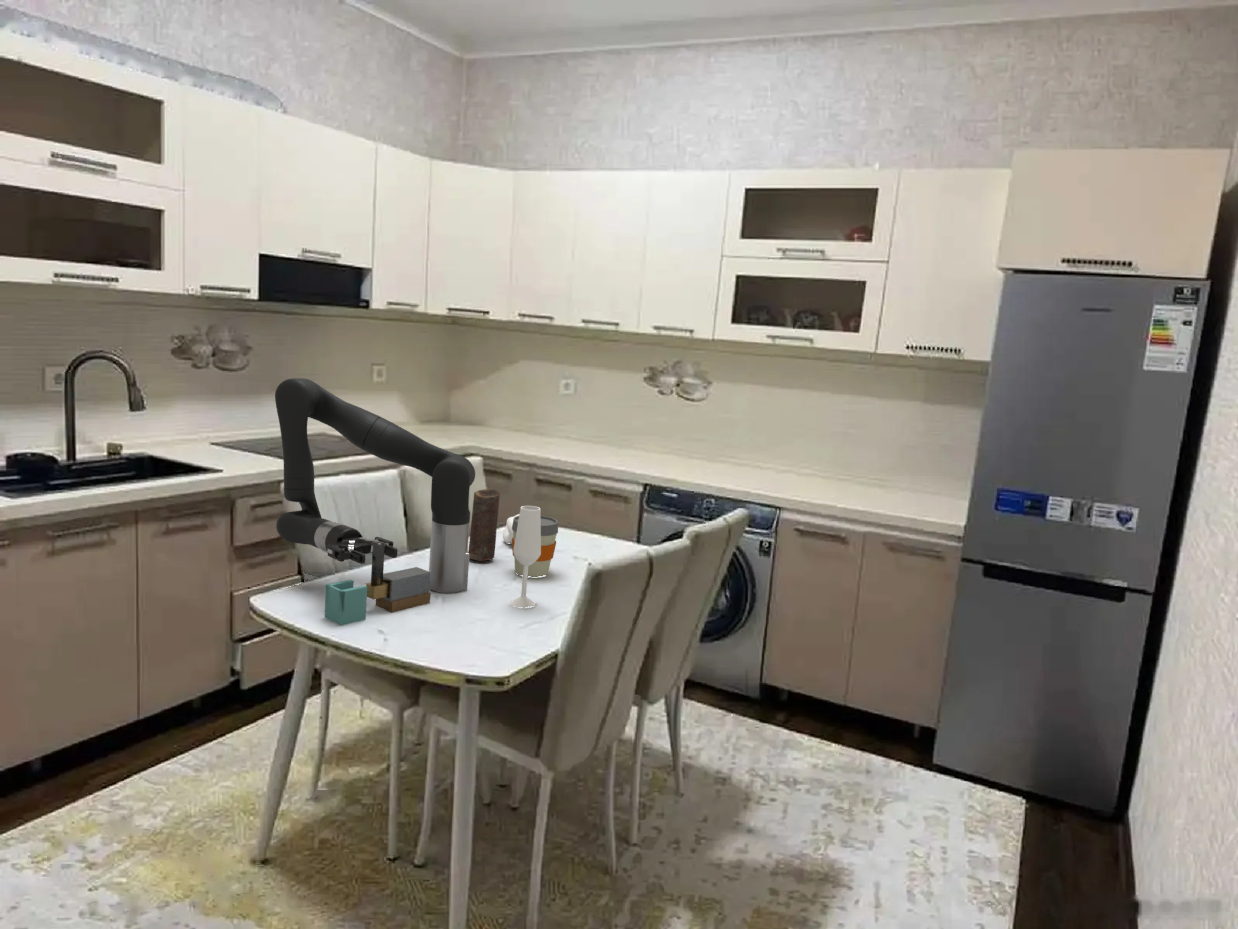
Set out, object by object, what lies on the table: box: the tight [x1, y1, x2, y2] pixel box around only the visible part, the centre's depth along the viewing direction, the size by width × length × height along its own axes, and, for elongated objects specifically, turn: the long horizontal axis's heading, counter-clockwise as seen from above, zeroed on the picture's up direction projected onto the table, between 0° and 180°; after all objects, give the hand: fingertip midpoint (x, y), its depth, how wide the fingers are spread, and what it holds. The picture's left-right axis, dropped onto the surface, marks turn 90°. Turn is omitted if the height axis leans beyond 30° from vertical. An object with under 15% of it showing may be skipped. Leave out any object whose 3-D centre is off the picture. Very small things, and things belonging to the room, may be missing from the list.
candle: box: [468, 488, 501, 563], centre depth 239 cm, size 8×7×20 cm
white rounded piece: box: [502, 513, 520, 545], centre depth 260 cm, size 11×12×9 cm
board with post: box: [365, 541, 390, 601], centre depth 196 cm, size 14×3×12 cm, turn 142°
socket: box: [324, 579, 368, 626], centre depth 187 cm, size 6×6×8 cm
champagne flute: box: [509, 505, 542, 608], centre depth 206 cm, size 7×7×24 cm
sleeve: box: [375, 566, 432, 614], centre depth 199 cm, size 11×6×8 cm, turn 142°
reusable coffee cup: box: [511, 515, 559, 577], centre depth 232 cm, size 13×13×15 cm
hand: (380, 556), depth 191 cm, fingers open, 8 cm apart
